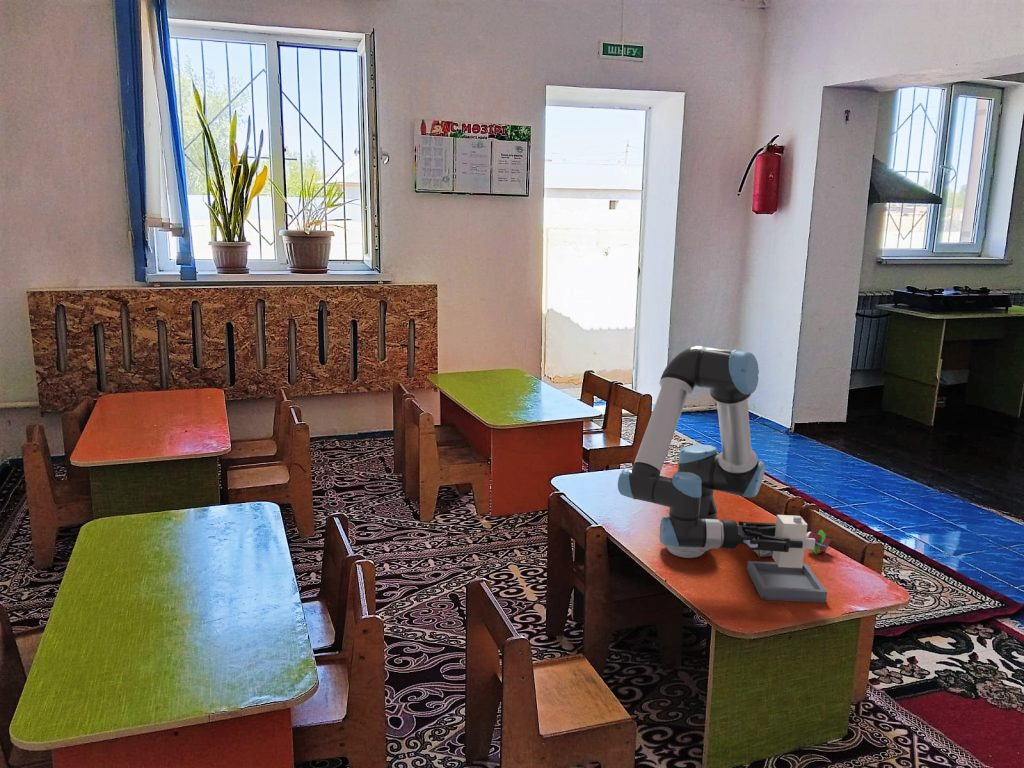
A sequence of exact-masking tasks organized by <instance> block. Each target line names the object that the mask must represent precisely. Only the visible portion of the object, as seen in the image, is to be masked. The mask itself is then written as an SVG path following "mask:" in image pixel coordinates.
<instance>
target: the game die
mask: <svg viewBox="0 0 1024 768" xmlns="http://www.w3.org/2000/svg"><path fill="white" fill-rule="evenodd" d="M758 538H759V537H758ZM746 546H748V545H746ZM753 551H754V553H755V554H756V555H757V556H758V557H757V559H759V560H760V559H761V558H764V557H770V556H771V557H772V556H773V551H766V550H753Z"/></svg>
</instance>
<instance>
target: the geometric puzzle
mask: <svg viewBox="0 0 1024 768" xmlns="http://www.w3.org/2000/svg"><path fill="white" fill-rule="evenodd" d="M806 538H815V547H814V549H810V550H811V551H812V552H813V553H814V555H818V552H820V554H823V553H826V552H827V551H829V550H830V549H831V547H829V546H830V544H831V541H832V538H830V536H829V535H828V534H827V533H825V531H823V529H822V528H819V530H818V532H817V531H807V533H806ZM819 550H820V551H819ZM823 551H824V552H823Z"/></svg>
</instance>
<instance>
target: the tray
mask: <svg viewBox="0 0 1024 768" xmlns="http://www.w3.org/2000/svg"><path fill="white" fill-rule="evenodd" d="M746 572H747V574H748V576H749V578H750V577H751V578H750V580H751V582H752V581H753V582H752V583H754V584H753V585H754V587H755V589H756V591H757V592H758V595H759V596H760V598H761V600H763V601H780V602H781V601H784V602H785V601H786V602H787V601H788V602H799V603H800V602H801V603H802V602H803V603H804V602H805V603H821V604H822V603H823V604H827V596H828V591H827V590H826V588H825V587H824V586H823V584H822V583H821V581H820V580H819V578H818V577H817V576H816V574H815V573H814V572H813V570H812V569H811V568H810V566H809V565H808V563H803V567H802V568H787V567H778V565H777V564H776V562H775V561H755V560H754V561H752V560H748V561H747V567H746Z"/></svg>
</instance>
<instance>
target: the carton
mask: <svg viewBox="0 0 1024 768" xmlns="http://www.w3.org/2000/svg"><path fill="white" fill-rule="evenodd" d="M775 524H776V529H775V536H774V537H780V538H786V539H789V537H796V538H806V533H807V532H808V531H807V530H808V523H807V522H806V521H805V520H804V519H803V517H802V516H801V515H789V514H788V515H787V514H776V522H775ZM805 550H806V549H795V548H789V552H779V551H773V556H771V558H772V559H773V560H774V562H776V564H777V565H778V567H787V568H802V567H803V564H804V557H805V556H804V555H805Z"/></svg>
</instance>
